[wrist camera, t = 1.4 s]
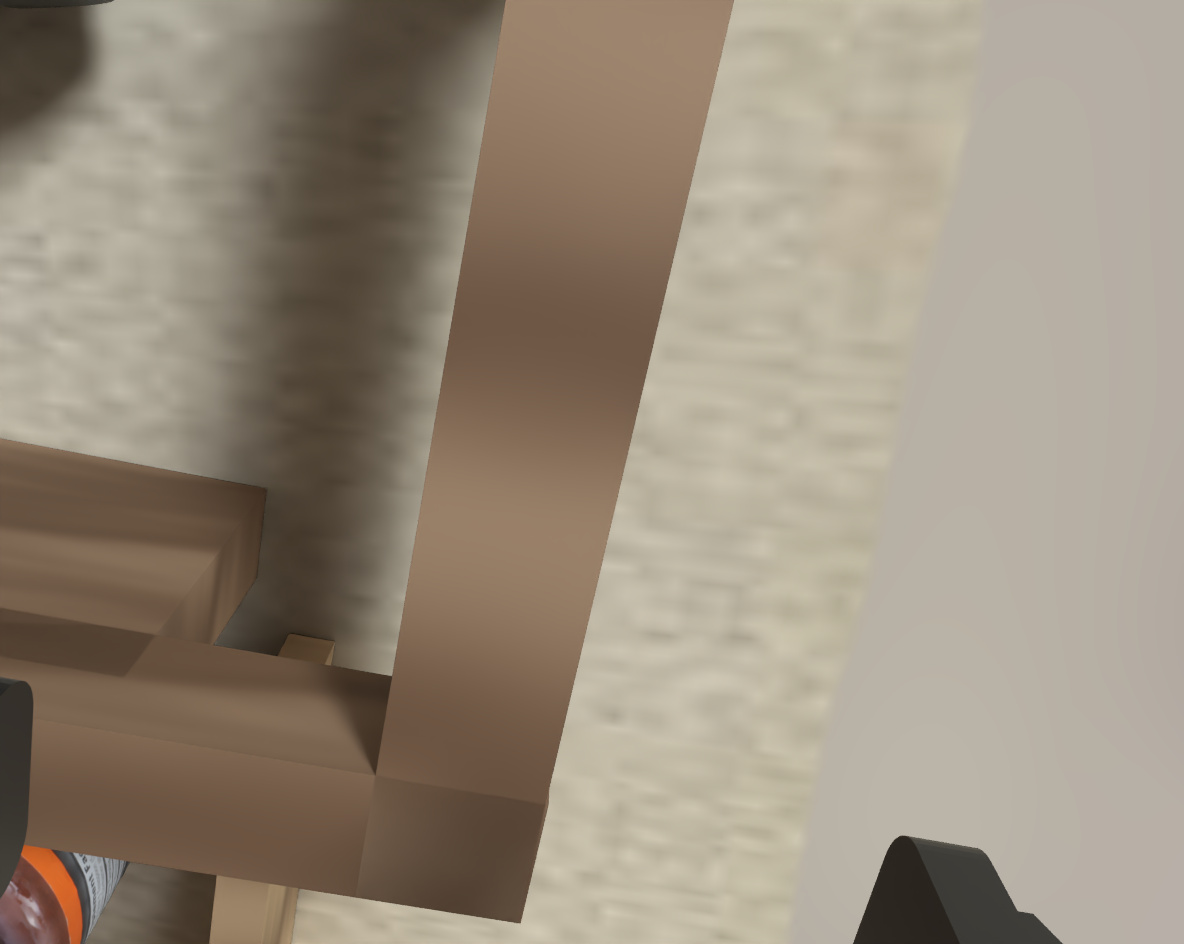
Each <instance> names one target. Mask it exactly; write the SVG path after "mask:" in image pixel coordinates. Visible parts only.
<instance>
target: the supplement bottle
mask: <svg viewBox="0 0 1184 944" xmlns="http://www.w3.org/2000/svg"><path fill="white" fill-rule="evenodd" d="M128 864H129V861H122V860H116V859H110V858H103V857H97V856H91V855H84V854H78V853H72V852H65V851H59V850H53V849H46V848H40V847H34V846H27V845H24V846H23V850H22V853H21V856H20V859H19V862H18V865H17V867H16V870H15V872H14V875H13V877H12V879H11V881H10V883H9V885H8V887H7V889H6V891H5V893H4V894H3V896H2V897H1V899H0V944H85V942H86V940H87V939H88V937H89V935H90V933H91V932H92V930H93V928H94V926H95V924H96V922H97V920H98V919H99V917H100V915H101V913H102V911H103V910H104V908H105V906H106V904H107V902H108V901H109V899H110V897H111V895H112V893H113V892H114V890H115V888H116V886H117V884H118V882H119V880H120V878H121V877H122V876H123V874H124V872H125V870H126V868H127V866H128Z"/></svg>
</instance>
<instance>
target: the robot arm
mask: <svg viewBox="0 0 1184 944" xmlns="http://www.w3.org/2000/svg"><path fill="white" fill-rule="evenodd" d="M32 727H33V693H32V690H31V687H30V685H29V684H28V683H27V682H26V681H21V680H16V679H10V678H4V677H0V899H1V897H2V896H3V894H4V893H5V891H6V889H7V887H8V885H9V883H10V881H11V879H12V877H13V875H14V872H15V870H16V867H17V865H18V862H19V859H20V856H21V853H22V850H23V846H24V842H25V838H26V832H27V825H28V810H29V789H30V768H31V747H32ZM853 944H1062V943H1061V942H1060V941H1059V940H1058V939H1057V938H1056V937H1055V936H1054V935H1053V934H1052V933H1051V932H1050V931H1049V930H1048V929H1047V927H1045V926H1044V925H1043V923H1041V921H1040V920H1039V919H1038V918H1037V917H1036V916H1034V914H1030V913H1024V912H1018V911H1017V909H1016V908H1015V906H1014V904H1013V902H1012V900H1011V898H1010V896H1009V895H1008V893H1007V891H1006V889H1005V887H1004V885H1003V883H1002V881H1001V880H1000V878H999V876H998V874H997V872H996V870H995V868H994V866H993V865H992V863H991V861H990V860H989V858H988V856H987V855H986V854H985V853H984V852H983V851H982V850H980V849H978V848H972V847H966V846H960V845H955V844H949V843H944V842H938V841H932V840H926V839H920V838H915V837H909V836H899V837H898V838H896V839H895V840H894V841H893V842H892V844H891V845H890V847H889V849H888V851H887V853H886V856H885V858H884V861H883V864H882V866H881V869H880V872H879V874H878V877H877V880H876V883H875V885H874V888H873V891H872V894H871V897H870V899H869V902H868V904H867V907H866V910H865V913H864V915H863V918H862V921H861V923H860V926H859V929H858V932H857V934H856V937H855V940H854V943H853Z"/></svg>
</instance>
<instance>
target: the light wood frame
mask: <svg viewBox="0 0 1184 944" xmlns="http://www.w3.org/2000/svg"><path fill="white" fill-rule="evenodd" d="M334 644H335V642H334V641H328V640H323V639H317V638H312V637H306V636H300V635H295V634H289V635H288V637H287V639H286V641H285V643H284V645H283V646H282V648H281V650H280V652H279V654H278V656H279V657H284V658H290V659H296V660H302V661H307V662H313V663H319V664H324V665H330V666H331V664H332V657H333V651H334ZM298 892H299V888H293V887H287V886H280V885H274V884H268V883H261V882H255V881H249V880H242V879H236V878H230V877H223V876H217V878H216V887H215V896H214V905H213V914H212V923H211V932H210V941H209V944H291V940H292V933H293V926H294V919H295V912H296V905H297V898H298Z"/></svg>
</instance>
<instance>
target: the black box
mask: <svg viewBox="0 0 1184 944" xmlns="http://www.w3.org/2000/svg"><path fill="white" fill-rule="evenodd" d="M112 1H114V0H0V6H4V7H12V8H51V7H72V6H86V5H96V4H103V3H108V2H112Z"/></svg>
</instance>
